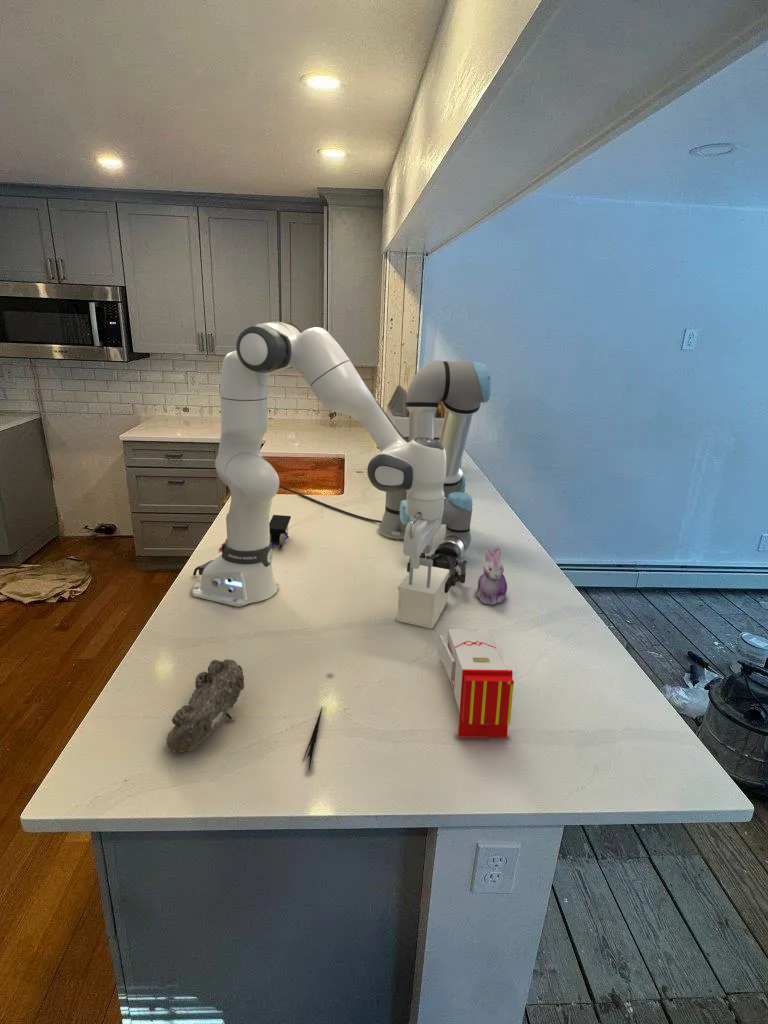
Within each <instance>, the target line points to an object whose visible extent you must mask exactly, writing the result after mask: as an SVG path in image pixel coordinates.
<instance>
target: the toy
mask: <svg viewBox="0 0 768 1024" xmlns="http://www.w3.org/2000/svg"><path fill="white" fill-rule="evenodd" d="M446 640H447V643H446V641H445V639H444V636H443V635H442V634H439V637H438V646H437V656H438V657H439V659H440V661H441V663H442V666H443V668H444V670H445V672H446V674H447V677H448V679H449V681H450V684H451V687H452V690H453V693H454V697H455V701H456V705H457V708H458V711H459V714H458V715H459V716H458V730H457V731H458V732H457V737H458V738H508V731H509V726H510V725H511V717H512V707H513V697H514V696H513V695H514V684H515V680H514V679H513V673H514V671H513V670H512V669H508V667H507V665H506V662H505V661H504V659H503V658H502V655H501V653H500V651H499V649H498V647H497V643H496V639H495V637H494V635H493V634H491V632H490V631H489V629H467V628H466V629H465V628H463V629H461V628H460V629H459V628H448V630H447V639H446Z"/></svg>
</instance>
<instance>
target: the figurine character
mask: <svg viewBox="0 0 768 1024" xmlns="http://www.w3.org/2000/svg"><path fill="white" fill-rule="evenodd" d="M291 517H292V516H291V515H284V514H283V515H282V514H273V515H272V517H271V519H270V520H269V526H270V541H271V544H272V549H273V548H274V546H279V547H278V550H281V549H283V548H282V547H283V546H284V545H285V544H286V541H287V540H288V539H289V538H290V536H289V523H290V521H291Z"/></svg>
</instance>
